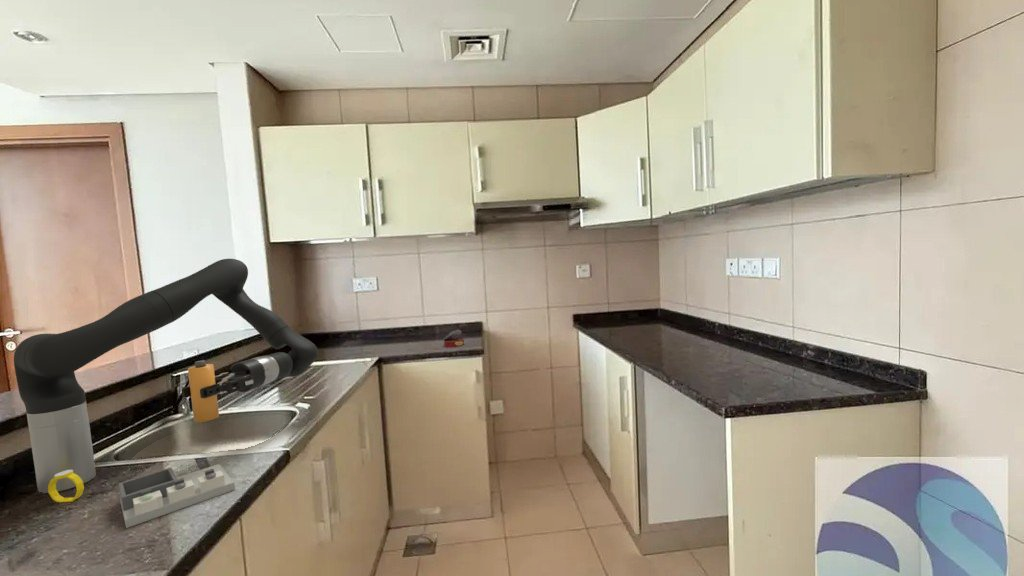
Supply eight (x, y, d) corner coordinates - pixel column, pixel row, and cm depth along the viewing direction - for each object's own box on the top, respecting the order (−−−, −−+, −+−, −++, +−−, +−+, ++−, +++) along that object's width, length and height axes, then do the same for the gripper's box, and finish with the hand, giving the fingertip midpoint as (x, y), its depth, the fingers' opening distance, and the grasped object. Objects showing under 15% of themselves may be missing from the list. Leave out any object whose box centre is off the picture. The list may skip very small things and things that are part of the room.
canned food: (448, 356, 225) (438, 340, 223) (449, 350, 235) (439, 334, 233) (468, 344, 225) (457, 328, 223) (468, 339, 235) (458, 323, 233)
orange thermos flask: (192, 419, 104) (185, 362, 103) (216, 413, 107) (210, 357, 106) (196, 423, 101) (189, 365, 100) (221, 417, 104) (215, 360, 103)
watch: (47, 506, 91) (40, 478, 91) (60, 499, 94) (54, 471, 93) (77, 502, 91) (71, 474, 91) (89, 495, 94) (83, 467, 93)
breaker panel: (120, 502, 90) (117, 480, 90) (219, 470, 102) (217, 450, 102) (126, 528, 81) (122, 503, 81) (234, 489, 93) (232, 468, 92)
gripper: (231, 358, 119) (165, 376, 102) (276, 358, 115) (215, 377, 99) (234, 386, 119) (169, 409, 103) (279, 387, 115) (219, 411, 99)
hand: (192, 393), depth 101 cm, fingers closed on orange thermos flask, 4 cm apart
